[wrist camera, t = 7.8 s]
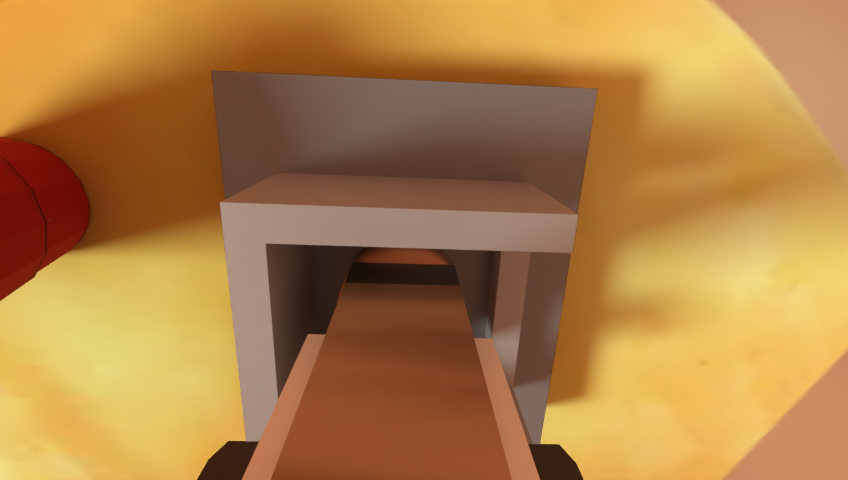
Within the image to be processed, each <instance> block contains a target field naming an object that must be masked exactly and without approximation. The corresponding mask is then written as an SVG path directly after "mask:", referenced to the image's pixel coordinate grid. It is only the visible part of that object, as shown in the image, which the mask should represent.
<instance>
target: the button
mask: <svg viewBox="0 0 848 480" xmlns="http://www.w3.org/2000/svg"><path fill="white" fill-rule="evenodd" d="M353 262H367V263H401V264H435V265H452V264H451V262H450V261H449V259H448V258H447V257H446V256H445V255H444V254H443V253H442V252H441V251H440V250H439V249H425V248H393V247H367V248H366V249H364V250H363V251H362V252H361V253H360V254H359V255H358V256H357V257H356V258H355V259H354V261H353ZM353 262H352V263H353ZM351 266H352V264H351ZM351 266H350V268H351ZM350 268H349V270H348V272H347V275H346V277H345V280H344V282H343V285H342V288H341V290H340V293H339V297H338V300H339V298H340V295H341V292H342V290H343V287H344V284H345V282H346V279H347V276H348V274H349V271H350ZM337 303H338V302H337Z"/></svg>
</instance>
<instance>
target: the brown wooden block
mask: <svg viewBox="0 0 848 480" xmlns="http://www.w3.org/2000/svg"><path fill="white" fill-rule="evenodd" d="M271 480H512V478H511V474H510V471H509V467H508V463H507V459H506V456H505V452H504V448H503V445H502V441H501V437H500V433H499V430H498V426H497V422H496V418H495V415H494V411H493V407H492V403H491V400H490V396H489V392H488V388H487V385H486V381H485V377H484V374H483V370H482V366H481V362H480V359H479V355H478V351H477V347H476V344H475V340H474V336H473V332H472V329H471V325H470V321H469V317H468V314H467V310H466V306H465V303H464V299H463V295H462V291H461V288H460V284H459V280H458V276H457V273H456V269H455V265H435V264H401V263H367V262H353V263H352V266H351V268H350V271H349V274H348V276H347V279H346V282H345V284H344V287H343V290H342V292H341V295H340V298H339V300H338V303H337V305H336V308H335V311H334V313H333V316H332V319H331V321H330V324H329V327H328V329H327V332H326V335H325V337H324V340H323V343H322V345H321V348H320V350H319V353H318V356H317V358H316V361H315V364H314V366H313V369H312V372H311V374H310V377H309V380H308V382H307V385H306V388H305V390H304V393H303V395H302V398H301V401H300V403H299V406H298V409H297V411H296V414H295V417H294V419H293V422H292V425H291V427H290V430H289V433H288V435H287V438H286V440H285V443H284V446H283V448H282V451H281V454H280V456H279V459H278V462H277V464H276V467H275V470H274V472H273V475H272V478H271Z"/></svg>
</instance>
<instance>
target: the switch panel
mask: <svg viewBox="0 0 848 480" xmlns="http://www.w3.org/2000/svg"><path fill="white" fill-rule="evenodd" d="M211 73H212V82H213V91H214V101H215V110H216V119H217V129H218V138H219V147H220V156H221V166H222V175H223V184H224V194H225V200H223V201H221V202H220V210H221V219H222V227H223V236H224V245H225V254H226V263H227V272H228V281H229V290H230V299H231V308H232V317H233V326H234V334H235V343H236V352H237V361H238V370H239V379H240V388H241V397H242V406H243V415H244V424H245V432H246V441H258V442H259V441H260V439H261V436H262V434H263V432H264V430H265V428H266V425H267V423H268V421H269V419H270V417H271V414H272V412H273V410H274V408H275V406H276V403H277V401H278V399H279V397H280V395H281V392H282V390H283V388H284V386H285V384H286V381H287V379H288V377H289V375H290V373H291V370H292V368H293V366H294V364H295V362H296V359H297V357H298V355H299V353H300V351H301V348H302V346H303V344H304V342H305V340H306V337H307V335H308V334H326V332H327V329H328V327H329V324H330V321H331V319H332V316H333V313H334V311H335V308H336V305H337V302H338V297H339V293H340V290H341V288H342V285H343V282H344V280H345V277H346V275H347V272H348V270H349V268H350V266H351V264H352V262H353V261H354V259H355V258H356V257H357V256H358V255H359V254H360V253H361V252H362V251H363V250H364V249H366V248H367V247H393V248H425V249H439V250H440V251H441V252H442V253H443V254H444V255H445V256H446V257H447V258H448V259H449V261H450V262H451V264H452V265H455V269H456V273H457V276H458V280H459V284H460V288H461V291H462V295H463V299H464V303H465V306H466V310H467V314H468V317H469V321H470V325H471V329H472V332H473V336H474V338H490V339H493V341H494V344H495V347H496V350H497V353H498V356H499V359H500V362H501V365H502V368H503V371H504V374H505V377H506V380H507V383H508V386H509V389H510V392H511V395H512V398H513V401H514V404H515V407H516V410H517V413H518V416H519V419H520V422H521V425H522V428H523V430H524V433H525V436H526V439H527V442H528V444H540V440H541V434H542V428H543V422H544V416H545V410H546V403H547V397H548V391H549V385H550V379H551V373H552V367H553V360H554V354H555V348H556V342H557V336H558V330H559V323H560V317H561V311H562V305H563V299H564V293H565V286H566V280H567V274H568V268H569V262H570V256H571V253H572V252H573V246H574V240H575V234H576V228H577V222H578V216H579V215H578V214H577V212H578V206H579V200H580V194H581V188H582V182H583V176H584V169H585V163H586V157H587V151H588V145H589V139H590V132H591V126H592V120H593V114H594V108H595V102H596V95H597V89H589V88H568V87H547V86H526V85H505V84H484V83H463V82H442V81H421V80H400V79H379V78H358V77H337V76H316V75H295V74H274V73H253V72H232V71H211Z"/></svg>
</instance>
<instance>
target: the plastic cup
mask: <svg viewBox="0 0 848 480" xmlns="http://www.w3.org/2000/svg"><path fill="white" fill-rule="evenodd" d="M88 225H89V201H88V199H87V196H86V194H85V191H84V189H83V186H82V184H81V181H80V180H79V179H78V177H77V176H76V175H75V174H74V173H73V172H72V170H71V169H70V168H69V167H68V166H67V165H66V163H65V162H64V161H63V160H61V159H60V158H58V157H56V156H55V155H53V154H52V153H50V152H48V151H47V150H45V149H44V148H42V147H40V146H37V145H33V144H29V143H25V142H20V141H16V140H12V139H8V138H4V137H0V301H1V300H2V299H4V298H5V297H7V296H8V295H9V294H11V293H12V292H14V291H15V290H17V289H18V288H19V287H21V286H22V285H24V284H25V283H27V282H28V281H29V280H31V279H32V278H34V277H35V275H36V273H37V272H38V271H40V270H41V269H43V268H44V267H46V266H47V265H49V264H50V263H52V262H53V261H55V260H56V259H58V258H59V257H61V256H62V255H64V254H65V253H67V252H68V251H70V250H71V249H73V247H74V245H75V244H76V243H78V242H79V241H80V240H81V238H82V236H83V234H84V232H85V230H86V228H87V227H88Z"/></svg>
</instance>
